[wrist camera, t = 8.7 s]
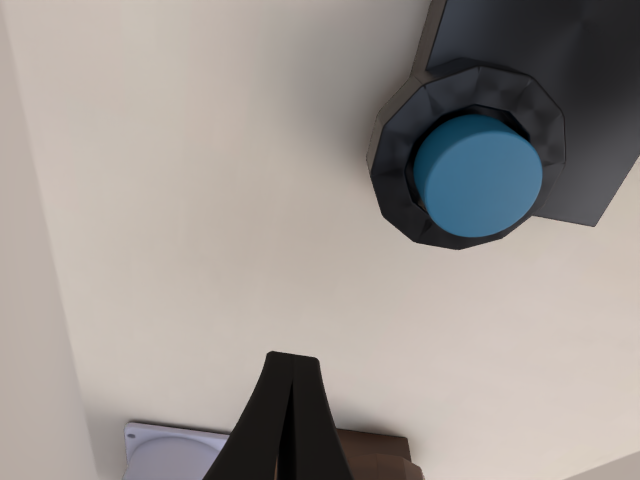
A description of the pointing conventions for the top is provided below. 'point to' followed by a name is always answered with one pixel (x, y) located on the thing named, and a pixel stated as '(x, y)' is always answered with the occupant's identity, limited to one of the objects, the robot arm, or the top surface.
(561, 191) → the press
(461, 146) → the button
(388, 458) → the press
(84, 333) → the top surface
